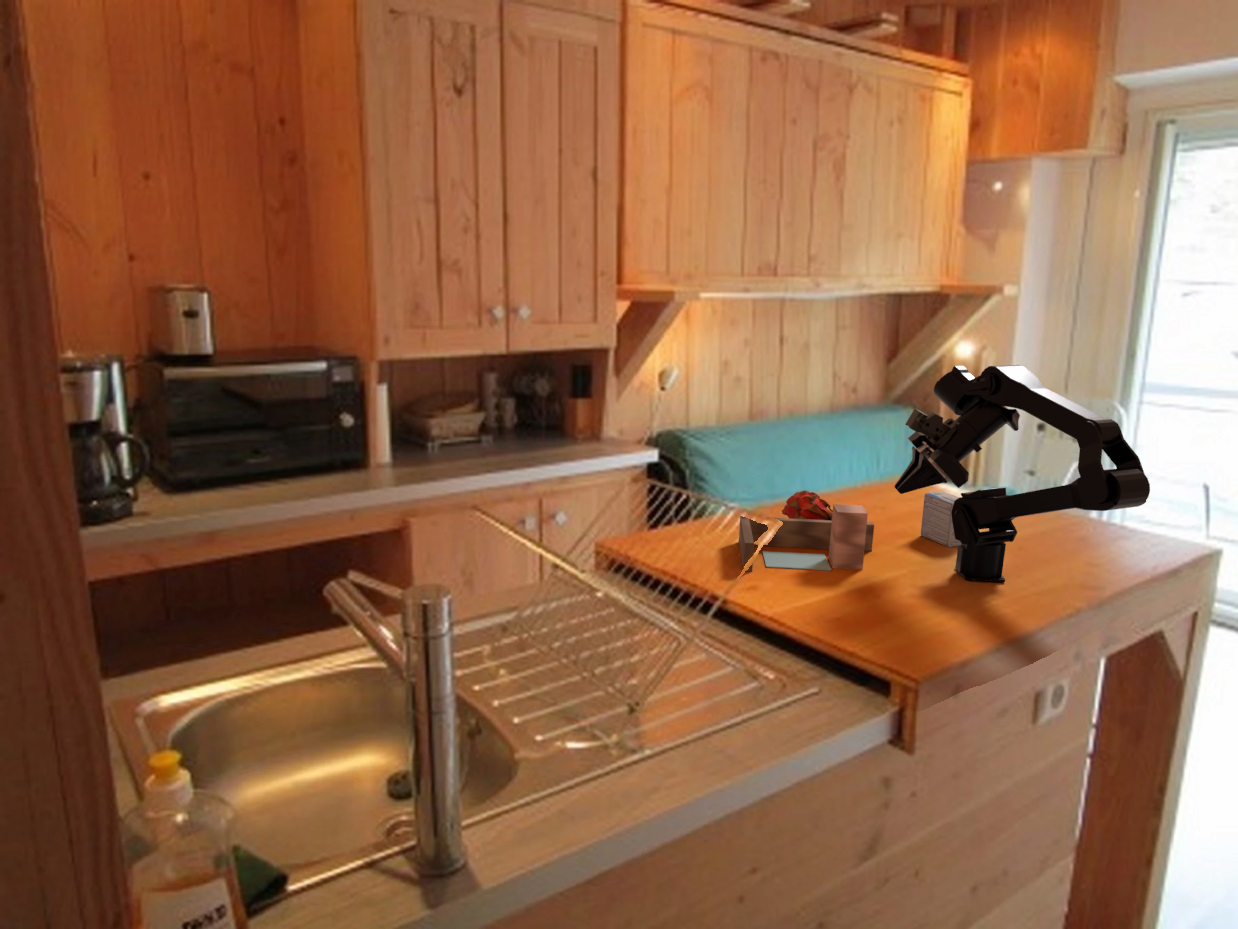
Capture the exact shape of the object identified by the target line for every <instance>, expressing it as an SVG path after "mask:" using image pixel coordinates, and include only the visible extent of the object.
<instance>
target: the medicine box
mask: <svg viewBox="0 0 1238 929" xmlns="http://www.w3.org/2000/svg"><path fill="white" fill-rule="evenodd" d="M958 498H960V496H957V495H954V494H952V493H949V492H945V491H932V492H926V493H924V499H923V508H922V516H921V517H922V519H921V524H920V526H921V527H920V536H922V537H923V538H927V539H928V540H932V541H934V542H935V543H939V544H940V545H943V546H945V547H948V548H955V547H958V546H959V545H961V544H962V543H961V542H960V541H959V540H956V539H955V535H954V528H953V522H952V515H951V512H952V508H953V505H954V501H955V500H956V499H958Z"/></svg>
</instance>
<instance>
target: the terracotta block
mask: <svg viewBox="0 0 1238 929" xmlns="http://www.w3.org/2000/svg"><path fill="white" fill-rule="evenodd" d="M832 510H833V512H832V524H831V536H830V548H829V549H828V560H829V562H830V563H829V564H830V565H831V567H832V568H833V569H843V570H859V571H860V570H864V569H863V567H864V557H865V551H864V548H865V538H866V527H867V522H868V514H869V513H868V512H867V510H866V509H865V508H864V506H863V505H860V504H859V505H858V504H842V503H841V504H839V503H838V504H835V503H833V504H832Z"/></svg>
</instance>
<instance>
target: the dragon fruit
mask: <svg viewBox="0 0 1238 929" xmlns="http://www.w3.org/2000/svg"><path fill="white" fill-rule="evenodd" d="M820 497H821V496H820V495H819V494H817V493H816V492H814V491H812V492H810V491H809V490H806V489H804V490H801V491H797V492H795V493H794V494H793V495H791V496H790V497H788V499H787V500H786V501H785V502H786V504H785V505H784V507H783V509H782V510H781V512H782V513H781V514H782V515H785V516H787V518H790V519H811V520H832V512H833V509H831V505H830V503H828V502H827V501H826V500H825V499H823V498H820Z"/></svg>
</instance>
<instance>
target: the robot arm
mask: <svg viewBox="0 0 1238 929" xmlns="http://www.w3.org/2000/svg"><path fill="white" fill-rule="evenodd" d="M933 393H934V395H935V397H937V398H938V399H939V400H940V401H941V403H943V404H944V405H945V406H946V407H947V408H948V409H949V410H950V411H951V412H952V413H953V414H955V415H957V416H958V417H957V418H956V419H953V418H947V419H945V421H944V417H942V416H941V415H938V414H937V413H935V412H931V413H929V414H927V413H925V412H923V411H921V410H919V409H918V408H914V409H913V410H912V412H911V414H910V415H909V417H908V419H907V421H906V423H905V426H908V429H910V430H912V431H914V432H913V433H912V434H910V436H909V437H907V439H908V440H909V442H910V443H911V444H912V447H911V450H912V455H911V456H912V458H911V459H912V460H911V461H910V462H909V464H908V465H907V467H906V469H905V470H904V472H903V473H902V474H901V476H900V477H899V479H898V480H897V481H896V483H895V484H894V489H895V490H896V491H897V492H898V493H899V494H901V495H902V494H907V493H910V492H914V491H917V490H921V489H924V488H927V487H931V486H935V485H939V484H947V483H948V480H947V479H946V478H947V477H948V478H949V479H950V481H951V482H952V484H953V485H954V486H956V487H957V489H960V488H961V487H962V486H964V485H965V484H966V483H967V482H969V471H968V470H967V469H966V468H965V467H964V466H963V465H962V463H961V461H963V460H964V459H965V458H966V457H968V455H970V454H971V453H972V452H973V451H974V452H975V453H979V452H980V451H982V449H983V448H982V447H981V446H982V444H983V443H984V442H986V441H987V440H988V439H989V438H990V437H992V436H993V435H994V434H995V433H996V432H998V431H999V430H1001V429H1002V428H1003V427H1004V426H1005V425H1007V426H1009V427H1010V428H1011V429H1012V430H1013V431H1014V432H1018V430H1019V428H1020V427H1019V419H1020V417H1021V415H1020V413H1019V411H1018V410H1021V411H1024V412H1025V413H1028V415H1031V416H1032V417H1035V418H1037V419H1038V420H1040V421H1042V422H1044V423H1046V424H1047V425H1049V426H1051V427H1053V428H1055V429H1057V430H1059V431H1060V432H1062V433H1064V434H1066V435H1068V437H1069V436H1070V437H1071V438H1073V439H1075V440H1076V441H1077V444H1078V448H1079V451H1078V452H1079V453H1078V463H1077V471H1078V474H1079V477H1078V478H1076V479H1074V480H1073V481H1072V482H1070V483H1068V484H1064V485H1063V484H1062V485H1059V486H1058V485H1057V486H1054V487H1049V488H1048V487H1047V488H1043V489H1042V488H1041V489H1037V490H1031V491H1027V492H1021V493H1015V494H1009V495H1007V487H1006V486H1004V487H993V488H992V487H991V488H985V489H978V490H974V491H968V492H961V493H960V496H961V497H960V496H959V497H960V498H958V499H956V500H955V501H954V505H953V508H952V512H951V515H952V522H953V528H954V535H955V539H956V540H959V541H960V542H961V543H962V544H961V545H959V546H957V553H956V560H955V567H954V568H955V570H956V571H957V572H958V573H959V574H960V575H961V577H962V578H964V580H966V581H977V582H992V583H995V582H998V583H1005V582H1006V578H1005V577H1004V576H1003V570H1004V569H1003V568H1004V562H1005V553H1006V546H1007V543H1012V542H1014V540H1015V538H1016V536H1017V534H1018V530H1017V528H1016V526H1015V524H1014V523H1013V520H1014V519H1017V518H1020V517H1021V518H1022V517H1026V516H1035V515H1040V514H1046V513H1053V512H1060V511H1065V510H1073V509H1077V510H1083V511H1097V512H1098V511H1099V512H1100V511H1101V512H1105V511H1115V510H1121V509H1128V508H1129V509H1130V508H1136V507H1140V506H1143V505H1144V504H1146V502H1147V501H1148V498H1149V496H1150V491H1151V487H1150V482H1149V478H1148V477H1147V476H1146V474H1145V471H1144V469H1143V465H1142V462H1141V460H1140V458H1139V456H1138V454H1137V453H1136V452H1135V451H1134V449H1133V448H1132V447H1131V446H1130V444H1129V443H1128V442H1127V441H1126V440H1125V438H1124V436H1123V433H1122V430H1121V427H1120V425H1119V423H1118V422H1117V421H1115V420H1114V419H1112V418H1109V417H1104V416H1102V415H1100V414H1098V413H1096V412H1095V411H1092V410H1090V409H1088V408H1086V407H1084V406H1082V405H1080V404H1078V403H1076V402H1074V401H1072V400H1070V399H1068V398H1066V397H1064V396H1063V395H1060V394H1058V393H1056V392H1054V391H1053V390H1050V389H1048V388H1047V387H1045V386H1044V385H1042V383H1041V381H1040V380H1039V378H1038V376H1037V375H1036V374H1034V373H1033V372H1032V371H1030V370H1029V369H1028V368H1026V367H1025V366H1023V365H1020V364H1016V365H1009V364H1008V365H989V366H988V367H986V368H984V369H983V370H982V371H981V373H980V375H978V376H976V377H975V376H974V375H972V373H970V371H969V370H968V369H967V368H966V367H965V366H964V365H954V366H953V367H952V369H951V371H949V372H946V374H944V375H943V376H942V377H940V378H939V380H937V381H936V382H935V384H934V387H933ZM1008 407H1009V408H1008ZM1017 409H1018V410H1017ZM1103 452H1104V453H1105V455H1106V456H1107V457H1108V458H1109V460H1110V461H1111V463H1113V464H1114V466H1115V468H1110V469H1109V468H1108V469H1104V467H1103V464H1102V456H1103V454H1102V453H1103ZM985 529H988V530H985ZM980 530H985V531H980Z"/></svg>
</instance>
